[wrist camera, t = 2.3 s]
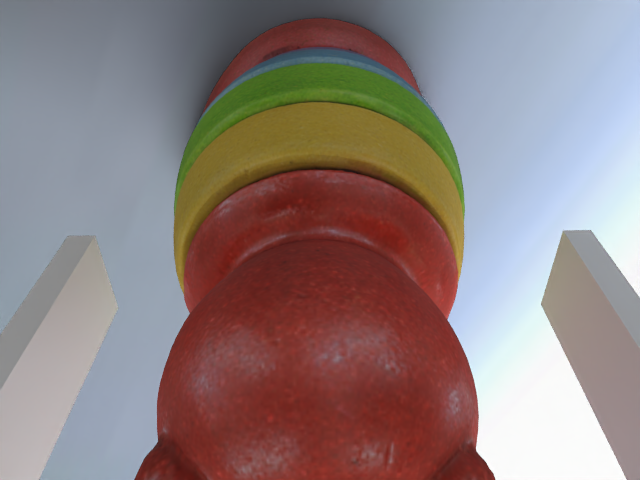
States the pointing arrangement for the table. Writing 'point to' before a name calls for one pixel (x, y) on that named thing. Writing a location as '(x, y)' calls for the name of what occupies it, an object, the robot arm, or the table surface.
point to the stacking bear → (317, 274)
